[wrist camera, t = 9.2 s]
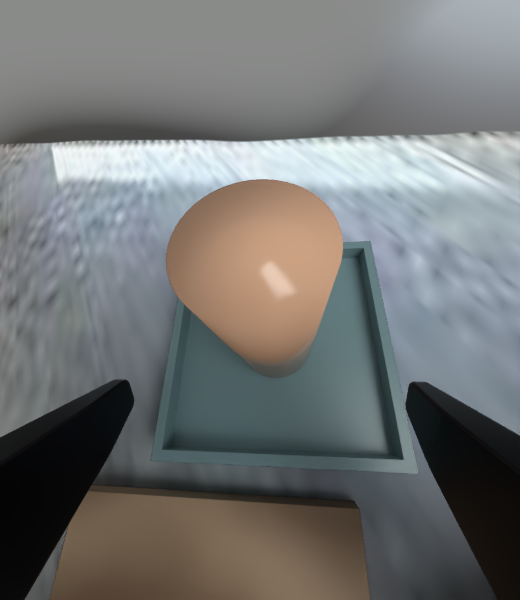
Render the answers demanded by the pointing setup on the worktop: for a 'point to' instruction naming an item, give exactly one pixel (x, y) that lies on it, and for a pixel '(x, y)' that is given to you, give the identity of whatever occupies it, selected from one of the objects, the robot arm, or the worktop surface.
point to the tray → (292, 391)
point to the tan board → (210, 547)
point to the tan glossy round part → (258, 269)
